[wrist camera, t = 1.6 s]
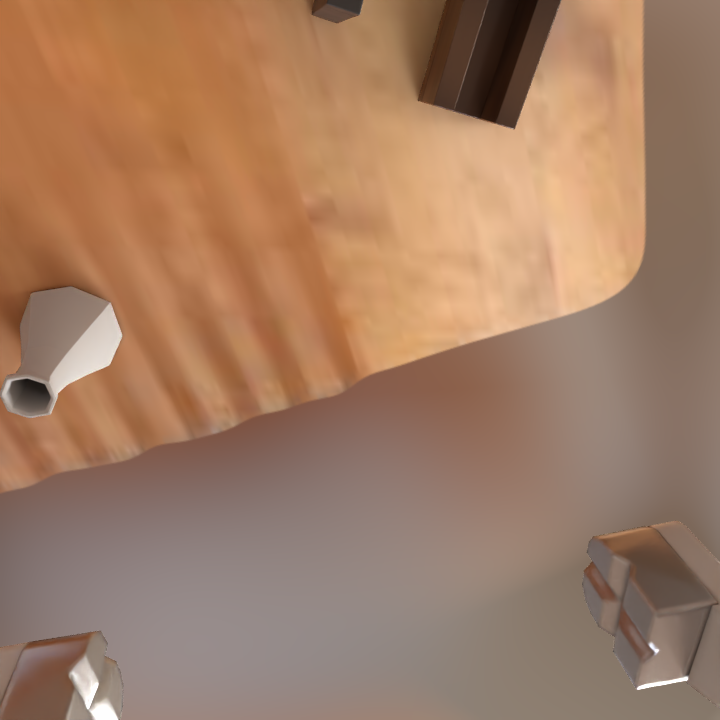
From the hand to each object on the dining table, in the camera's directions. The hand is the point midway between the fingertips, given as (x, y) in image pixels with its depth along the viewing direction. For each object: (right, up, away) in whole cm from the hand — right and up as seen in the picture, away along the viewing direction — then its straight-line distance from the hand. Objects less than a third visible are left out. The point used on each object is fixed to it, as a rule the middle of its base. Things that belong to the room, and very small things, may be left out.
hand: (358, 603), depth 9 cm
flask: (-22, +7, +34) cm, 41 cm away
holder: (+9, +28, +28) cm, 41 cm away
